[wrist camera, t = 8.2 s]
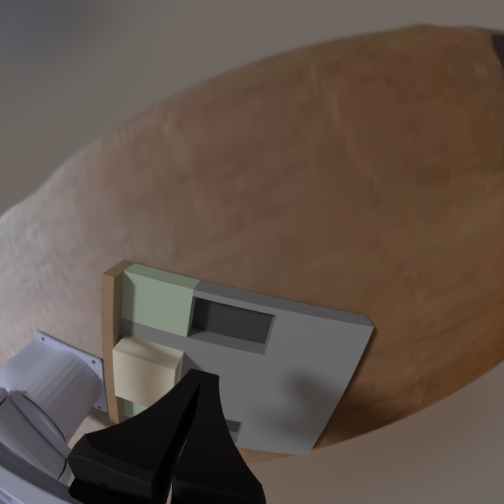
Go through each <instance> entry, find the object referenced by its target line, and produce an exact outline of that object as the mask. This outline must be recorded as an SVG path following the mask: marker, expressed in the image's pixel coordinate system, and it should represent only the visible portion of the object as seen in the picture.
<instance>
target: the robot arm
mask: <svg viewBox="0 0 504 504" xmlns="http://www.w3.org/2000/svg"><path fill="white" fill-rule="evenodd" d="M34 335H35V339H34V340H33V341H32V342H30V343H29V344H28V345H27V346H25V347H24V348H23V349H22V350H21V351H19V352H18V353H17V354H16V355H15V356H13V357H12V358H11V359H10V360H9V361H7V362H6V363H5V365H4V366H3V367H2V369H1V371H0V504H166V502H167V498H168V495H169V491H170V487H171V483H172V497H171V503H170V504H266V499H265V495H264V491H263V488H262V485H261V483H260V482H259V481H258V480H257V478H256V477H255V476H254V474H253V473H252V472H251V471H250V469H249V468H248V466H247V465H246V463H245V462H244V460H243V458H242V457H241V455H240V453H239V451H238V449H237V448H236V446H235V444H234V441H233V439H232V437H231V435H230V432H229V430H228V427H227V424H226V421H225V417H224V414H223V410H222V405H221V400H220V392H219V379H220V377H219V376H218V375H217V374H213V373H208V372H204V371H200V370H197V369H193V368H191V369H189V370H188V371H187V373H186V374H185V375H184V376H183V377H182V379H181V380H180V381H179V382H178V383H177V384H176V385H175V386H174V387H173V388H172V389H171V390H170V391H169V392H167V393H166V394H165V395H164V396H163V397H162V398H160V399H159V400H158V401H157V402H155V403H154V404H153V405H151V406H150V407H148V408H147V409H145V410H144V411H142V412H140V413H139V414H137V415H135V416H133V417H131V418H130V419H127V420H125V421H123V422H121V423H118V424H116V425H113V426H111V427H108V428H105V429H102V430H99V431H95V432H91V433H87V434H84V435H83V436H82V438H81V439H80V440H79V441H78V442H77V443H76V444H75V446H74V447H73V449H72V450H71V449H70V448H69V447H68V446H67V444H68V442H69V441H70V439H71V438H72V436H73V435H74V434H75V432H76V431H77V429H78V428H79V426H80V425H81V423H82V422H83V420H84V419H85V417H86V416H87V415H88V413H89V412H90V410H91V409H92V407H94V408H96V409H99V410H101V411H103V412H107V411H108V403H107V395H106V386H105V375H104V364H103V361H102V360H101V359H99V358H97V357H94V356H92V355H89V354H87V353H84V352H82V351H80V350H78V349H75V348H73V347H71V346H69V345H66V344H64V343H62V342H60V341H58V340H56V339H54V338H51V337H49V336H47V335H45V334H43V333H41V332H39V331H36V332H35V333H34ZM94 361H95V362H94ZM186 439H187V440H186ZM185 441H186V443H185ZM184 444H185V445H184ZM183 446H184V448H183ZM182 449H183V451H182ZM70 451H71V452H70ZM181 451H182V453H181ZM180 453H181V456H180ZM68 454H69V455H68ZM67 456H68V457H67ZM179 456H180V459H179ZM178 459H179V461H178ZM177 462H178V464H177ZM176 465H177V466H176ZM72 473H73V475H74V477H75V479H74V481H73V482H72V484H71V486H70V487H69V486H67V484H68V482H69V480H70V478H71V474H72Z"/></svg>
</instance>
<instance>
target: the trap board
mask: <svg viewBox="0 0 504 504" xmlns="http://www.w3.org/2000/svg"><path fill="white" fill-rule="evenodd" d="M373 328H374V326H373V325H372V323H371V322H370V320H369V319H368V317H367V316H366V315H360V314H355V313H349V312H344V311H339V310H334V309H329V308H324V307H319V306H314V305H309V304H304V303H299V302H294V301H289V300H285V299H280V298H275V297H271V296H266V295H262V294H257V293H253V292H248V291H244V290H240V289H235V288H231V287H227V286H222V285H218V284H214V283H210V282H206V281H201V280H197V279H193V278H189V277H185V276H181V275H177V274H173V273H169V272H166V271H162V270H158V269H154V268H150V267H146V266H143V265H139V264H135V263H131V262H128V261H122V262H120V263H119V264H117V265H116V266H114V267H112V268H111V269H109V270H108V271H106V272H104V273H103V274H102V343H103V361H104V374H105V384H106V394H107V402H108V410H109V417H110V422H113V423H115V424H118V423H120V422H121V421H122V419H123V417H124V416H127V417H130V418H131V417H133V416H135V415H137V414H139V413H140V412H142V411H144V410H145V409H147V408H148V407H146V406H143V405H140V404H137V403H134V402H132V401H129V400H126V399H123V398H121V397H118V396H116V395H115V386H114V371H113V348H114V347H115V346H116V345H117V344H118V343H119V341H120V340H121V339H122V338H123V337H124V335H125V334H128V335H131V336H134V337H137V338H140V339H143V340H146V341H149V342H153V343H156V344H159V345H163V346H166V347H169V348H173V349H176V350H180V351H184V355H183V362H182V371H181V379H182V377H183V376H184V375H185V374H186V373H187V371H188V370H189V369H191V368H193V369H197V370H200V371H204V372H208V373H213V374H217V375H218V376H219V377H220V379H219V392H220V400H221V405H222V410H223V414H224V417H225V421H226V424H227V427H228V430H229V432H230V435H231V437H232V439H233V441H234V444H235V446H236V447H242V448H248V449H254V450H261V451H268V452H276V453H285V454H296V455H308V454H309V452H310V451H311V449H312V447H313V446H314V444H315V443H316V441H317V439H318V438H319V436H320V434H321V433H322V431H323V429H324V428H325V426H326V424H327V422H328V421H329V419H330V417H331V415H332V413H333V412H334V410H335V408H336V406H337V404H338V402H339V401H340V399H341V397H342V395H343V393H344V391H345V389H346V387H347V385H348V383H349V381H350V379H351V377H352V375H353V373H354V371H355V369H356V367H357V365H358V362H359V360H360V358H361V356H362V354H363V351H364V349H365V347H366V345H367V342H368V340H369V338H370V335H371V333H372V331H373ZM181 379H180V380H181Z"/></svg>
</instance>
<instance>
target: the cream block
mask: <svg viewBox="0 0 504 504" xmlns="http://www.w3.org/2000/svg"><path fill="white" fill-rule="evenodd" d="M183 355H184V351H180V350H176V349H173V348H169V347H166V346H163V345H159V344H156V343H153V342H149V341H146V340H143V339H140V338H137V337H134V336H131V335H128V334H125V335H124V337H123V338H122V339H121V340H120V341H119V343H118V344H117V345H116V346H115V347H114V348H113V371H114V386H115V395H116V396H118V397H121V398H123V399H126V400H129V401H132V402H134V403H137V404H140V405H143V406H146V407H150V406H151V405H153V404H154V403H155V402H157V401H158V400H159V399H160V398H162V397H163V396H164V395H165V394H166V393H167V392H169V391H170V390H171V389H172V388H173V387H174V386H175V385H176V384H177V383H178V382H179V381H180V379H181V371H182V362H183Z"/></svg>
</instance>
